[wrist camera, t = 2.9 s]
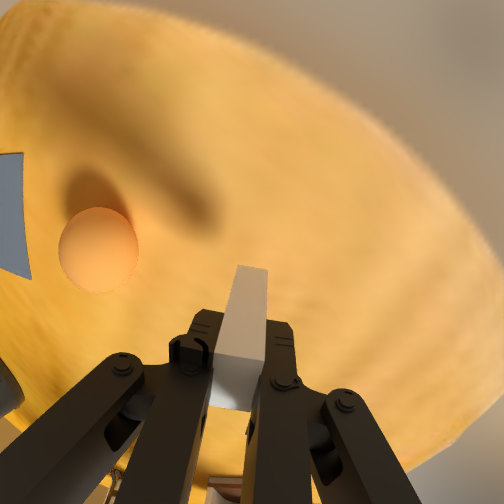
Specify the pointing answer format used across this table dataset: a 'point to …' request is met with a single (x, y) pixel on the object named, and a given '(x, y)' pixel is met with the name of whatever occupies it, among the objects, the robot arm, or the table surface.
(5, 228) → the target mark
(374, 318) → the table surface
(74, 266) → the ball
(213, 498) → the wooden cubby shelf
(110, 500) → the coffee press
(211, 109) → the table surface
